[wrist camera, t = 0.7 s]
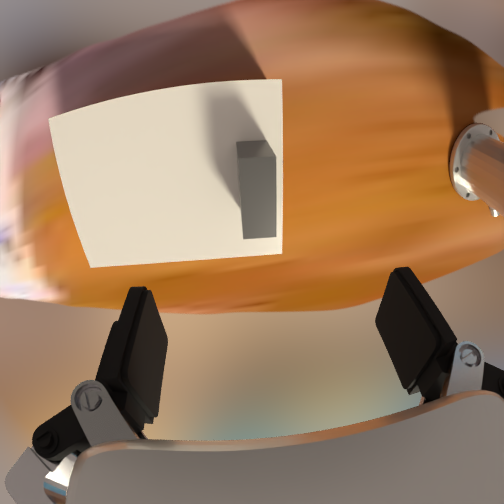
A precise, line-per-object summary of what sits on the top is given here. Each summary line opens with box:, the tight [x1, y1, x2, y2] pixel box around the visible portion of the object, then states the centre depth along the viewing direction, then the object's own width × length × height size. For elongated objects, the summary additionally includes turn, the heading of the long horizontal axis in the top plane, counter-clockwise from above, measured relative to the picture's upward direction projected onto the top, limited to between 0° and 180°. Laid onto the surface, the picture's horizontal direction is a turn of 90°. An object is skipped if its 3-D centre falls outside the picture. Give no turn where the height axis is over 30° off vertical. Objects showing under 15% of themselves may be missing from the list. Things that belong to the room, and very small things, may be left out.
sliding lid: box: [48, 79, 283, 268], centre depth 21 cm, size 20×16×6 cm
